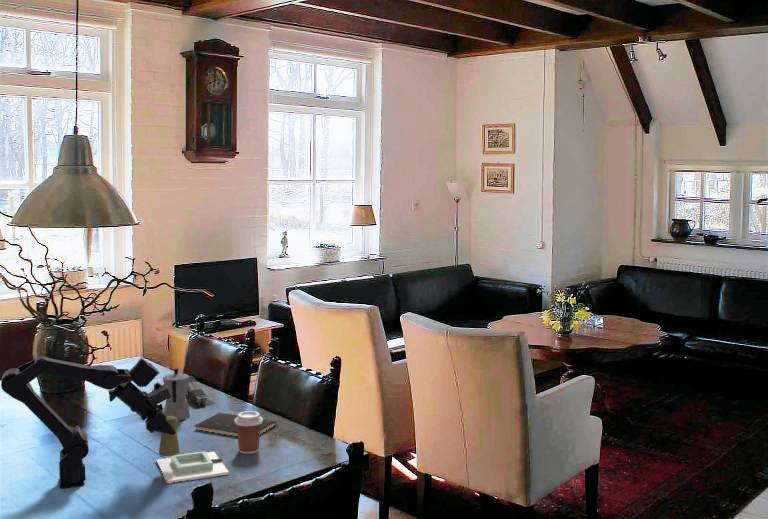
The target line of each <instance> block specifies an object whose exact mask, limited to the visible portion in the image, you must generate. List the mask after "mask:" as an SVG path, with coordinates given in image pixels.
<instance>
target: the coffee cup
mask: <svg viewBox="0 0 768 519" xmlns="http://www.w3.org/2000/svg"><path fill="white" fill-rule="evenodd" d="M237 415H238V417H237V418H236V419H235V420H234V422H235V424H236V425H237V434H238V437H237V443H238V452H239V451H240V452H241V453H240V452H239V453H240V454H243V453H244V454H245V455H251V454H257V453H258V452H259V451H260V439H261V438H260V437H261V435H260V428H261V423H262V422H263V417H262V416H261V415H260V413H259V412H258V411H253V410H250V411H249V410H247V411H246V410H245V411H242V412H239V413H238V414H237Z"/></svg>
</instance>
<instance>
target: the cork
mask: <svg viewBox="0 0 768 519" xmlns="http://www.w3.org/2000/svg"><path fill="white" fill-rule="evenodd" d="M166 420H167V422H168V423H169V424H170V425H171V427H172V428H173V429H174V430H175V431H176V433H175V434H174V435H171V434H167V433H163V432H160V440H159V448H158V454H159V456H161V457H171V456H174V455H180V452H181V451H180V445H179V438H178V432H177V426H178V424H179V421H178V420H177V418H176V417H174V416H167V417H166Z"/></svg>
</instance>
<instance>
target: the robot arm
mask: <svg viewBox="0 0 768 519" xmlns="http://www.w3.org/2000/svg"><path fill="white" fill-rule="evenodd" d="M42 374H47V375H49V374H50V375H53V376H58V377H64V378H69V379H76V380H80V381H84V382H88V383H90V384H92V385H94V386H95V387H99V388H102V389H104V390H108V391H107V392H108V394H109V395H108V398H109V399H108V400H109V402H113V401H114V400H115V399H116V398H117V399H119V400H120V401H121V402H122V403H123V404H124V405H126V407H128V408H129V409H130V411H131V412H132V413H134V414H135V413H136V414H137V415H138V416H139V417H140V420H142V421H143V422H144V424H145V425H144V426H145V430H147V431H148V432H149V433H150V434H152V433H154V432H159V433H161V432H163V433H167V434H171V435H174V434H175V433H176V431H177V430H176V431H175V430H174V429H173V428H172V427H171V425H170V424H169V423H168V422H167V420H166V417H167V415H166V413H164V408H163V407H164V406H163V404H162V403H163V402H164V401H166V400H167V399H170V398H171V397H172V395H171V393H170V391H169V390H168V388H167V386H166V385H164V383H163V384H161V383H160V382H155V383H154V384H153V389H152V390H151V391H150V392H149V393H148V392H147V391H144V390H141V389H140V388H147V386H149V384H150V383H152V381H154V379H155V378H156V377H157V376H158V375H159V374H160V371H159V370H158V368H156V367H155V365H153V364H152V363H151V362H149V361H147V360H146V359H144V358H143V357H141V358H139V359H138V361H137V363H135V365H134V366H132V368H130V369H127V368H117V367H116V366H114V365H109V364H97V365H86V364H81V363H76V362H70V361H66V360H62V359H55V358H50V357H47V356H44V355H41V356H38V357H36V358H35V359H33V360H31V361H28V362H26V363H23V364H22V365H20V366H19V367H17V368H14V367H13V368H9V369H8V370H6V371H5V372H3V374H2V377H1V381H0V382H1V383H0V387H1V390H2V392H4V393H5V394H6V395H8V396H10V397H11V398H12V399H14V400H16V401H19V402H21V403H23V405H25V407H27V409H29V410H30V412H32V414H33V415H35V416H36V417H37V418H38V419H39V421H41V423H43V425H44V426H45V427H47V429H48V430H49V431H50V432H51V433H53V435H54V436H55V437H56V438H57V439H58V441H59V443H60V445H61V447H62V449H61V450H60V451H59V461H58V474H59V476H58V483H59V484H58V485H59V488H60V489H66V488H72V487H78V486H84V485H85V481H86V480H87V479H86V465H85V463H84V461H83V460H84V458H86V457H87V455H88V454H89V450H90V449H89V448H90V446H89V439H88V434H87V433H85V432H84V431H83V430H82V429H81V428H80V426H79V425H76V426H75V427H73V426H72V427H71V426H70V425H68V424H67V423H66V422H65V421H64V420H63V419H62V418H61V417H60V416H59V415H58V413H56V411H54V410H53V409H52V407H50V405H49V404H47V402H46V401H45V400H44V399H43V398H42V397H41V396H40V395H39V394H37V392H36V391H35V390H34V388H33V386H32V384H31V382H32V381H33V380H35V379H36V378H38V376H41V375H42Z"/></svg>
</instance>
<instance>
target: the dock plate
mask: <svg viewBox="0 0 768 519" xmlns="http://www.w3.org/2000/svg"><path fill="white" fill-rule="evenodd" d="M156 461H157V463H158V465H159V467H160V469H161V470H160V469H159V470H160V472H161V471H162V472H161V474H162V473H163V474H162V476H163V478H164V480H165V482H166V484H167V483H169V484H174V483H173V482H175V483H180V482H179V481H182V482H188V481H194V480H200V479H207V478H214V477H219V476H226V475H229V474H230V472H229V470H228V469H227V467H226V466H225V464H224V463H223V461H224V459H223V458H222V457H219V455H217V454H216V452H215V451H209V452H206V451H204V450H203V451H196V452H189V453H183V454H177V455H174V456H170V457H166V458H158V459H156V460H155V462H156ZM157 463H156V464H157ZM158 465H157V466H158ZM159 467H158V468H159ZM187 480H188V481H187Z"/></svg>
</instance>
